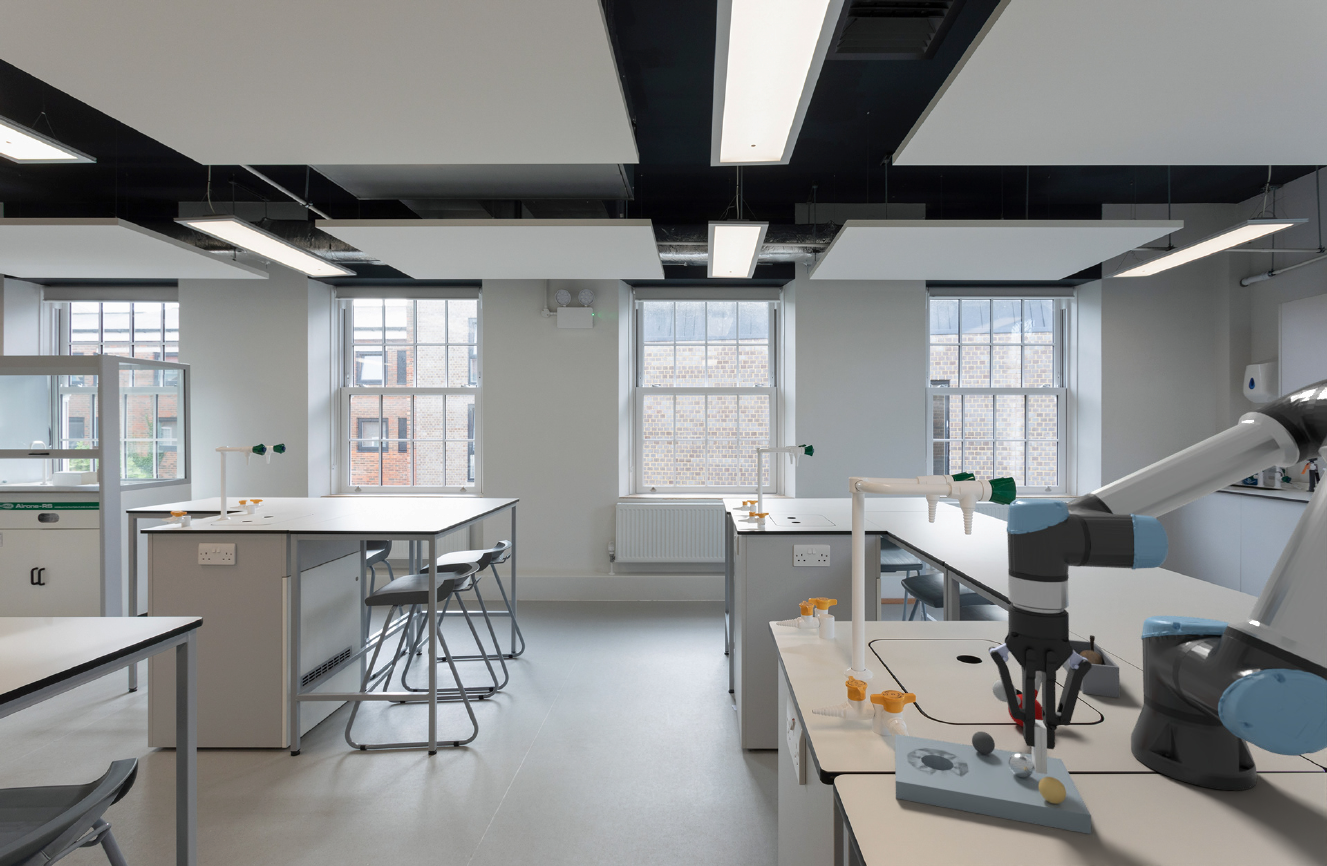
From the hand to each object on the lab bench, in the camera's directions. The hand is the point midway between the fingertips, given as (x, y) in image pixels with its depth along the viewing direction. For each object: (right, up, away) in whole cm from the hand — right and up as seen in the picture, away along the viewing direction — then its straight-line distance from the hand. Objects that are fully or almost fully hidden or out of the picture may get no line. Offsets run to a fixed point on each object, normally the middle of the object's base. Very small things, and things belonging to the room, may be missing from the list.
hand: (1039, 768), depth 89 cm
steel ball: (-2, 0, +1) cm, 2 cm away
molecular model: (+11, -4, +22) cm, 25 cm away
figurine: (+37, -4, +42) cm, 56 cm away
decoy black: (-4, 0, +8) cm, 9 cm away
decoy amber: (-2, 0, -6) cm, 6 cm away
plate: (-7, -4, +3) cm, 9 cm away
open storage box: (+36, -4, +42) cm, 56 cm away
